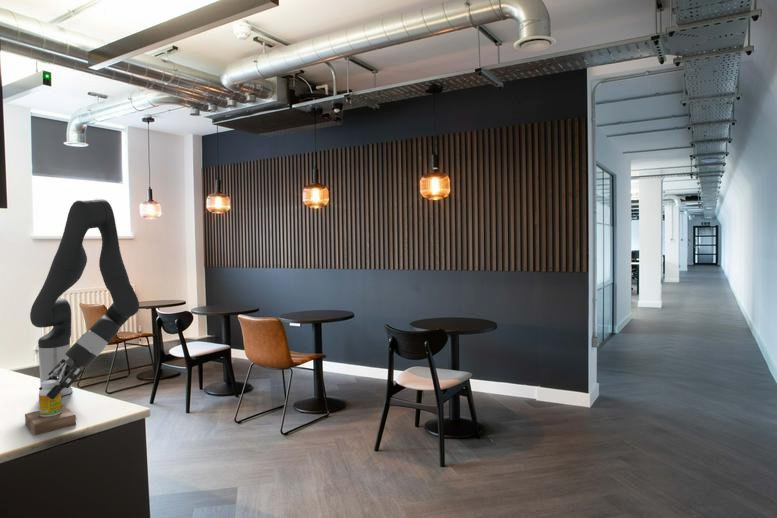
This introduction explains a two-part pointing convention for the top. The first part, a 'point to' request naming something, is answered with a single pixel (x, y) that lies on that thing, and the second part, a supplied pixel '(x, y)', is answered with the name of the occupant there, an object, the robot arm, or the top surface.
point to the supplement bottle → (49, 400)
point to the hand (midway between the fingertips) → (45, 394)
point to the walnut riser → (50, 421)
